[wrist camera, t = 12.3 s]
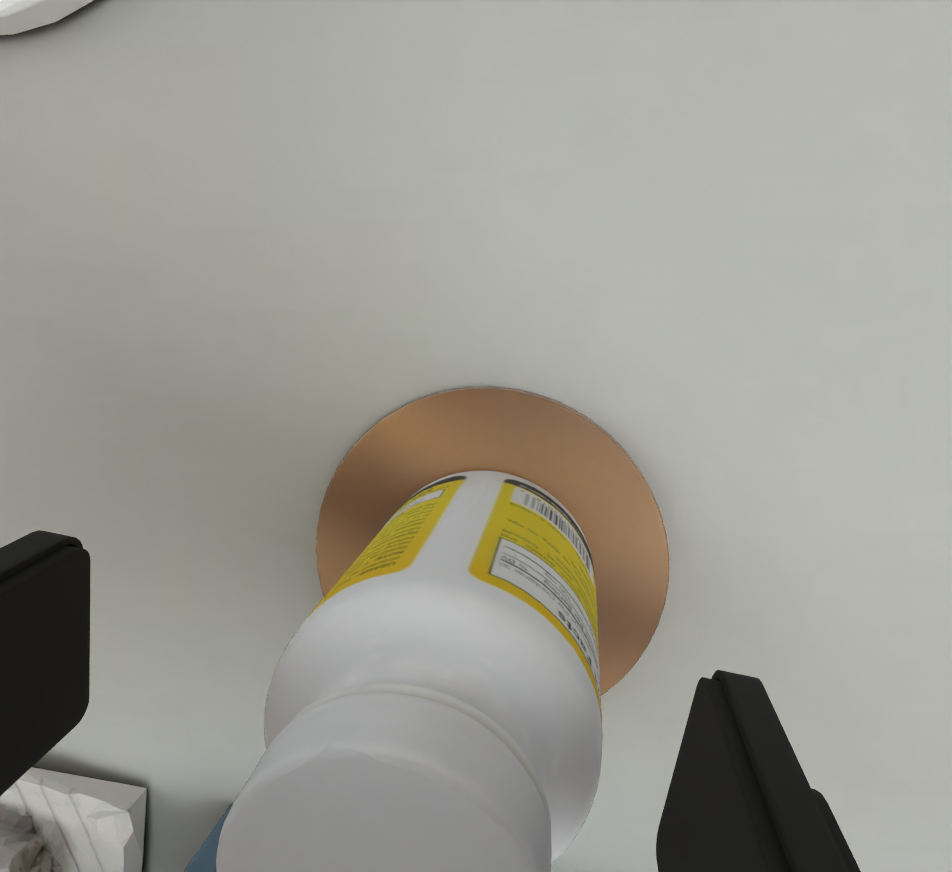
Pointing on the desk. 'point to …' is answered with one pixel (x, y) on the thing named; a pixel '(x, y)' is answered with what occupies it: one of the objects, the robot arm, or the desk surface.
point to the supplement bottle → (435, 698)
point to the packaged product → (71, 824)
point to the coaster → (526, 456)
